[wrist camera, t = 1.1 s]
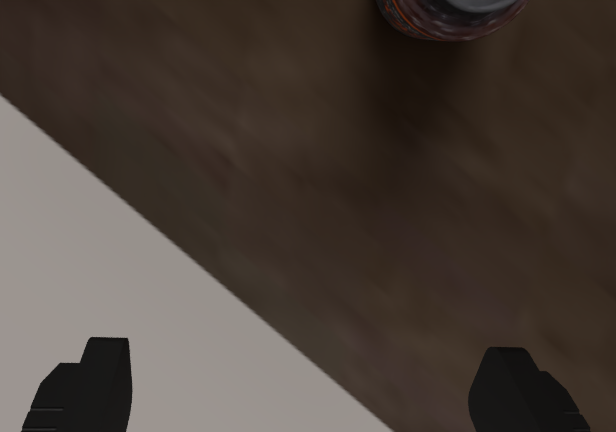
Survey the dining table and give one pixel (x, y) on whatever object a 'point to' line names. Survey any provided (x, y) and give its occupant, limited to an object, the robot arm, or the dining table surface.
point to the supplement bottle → (449, 17)
